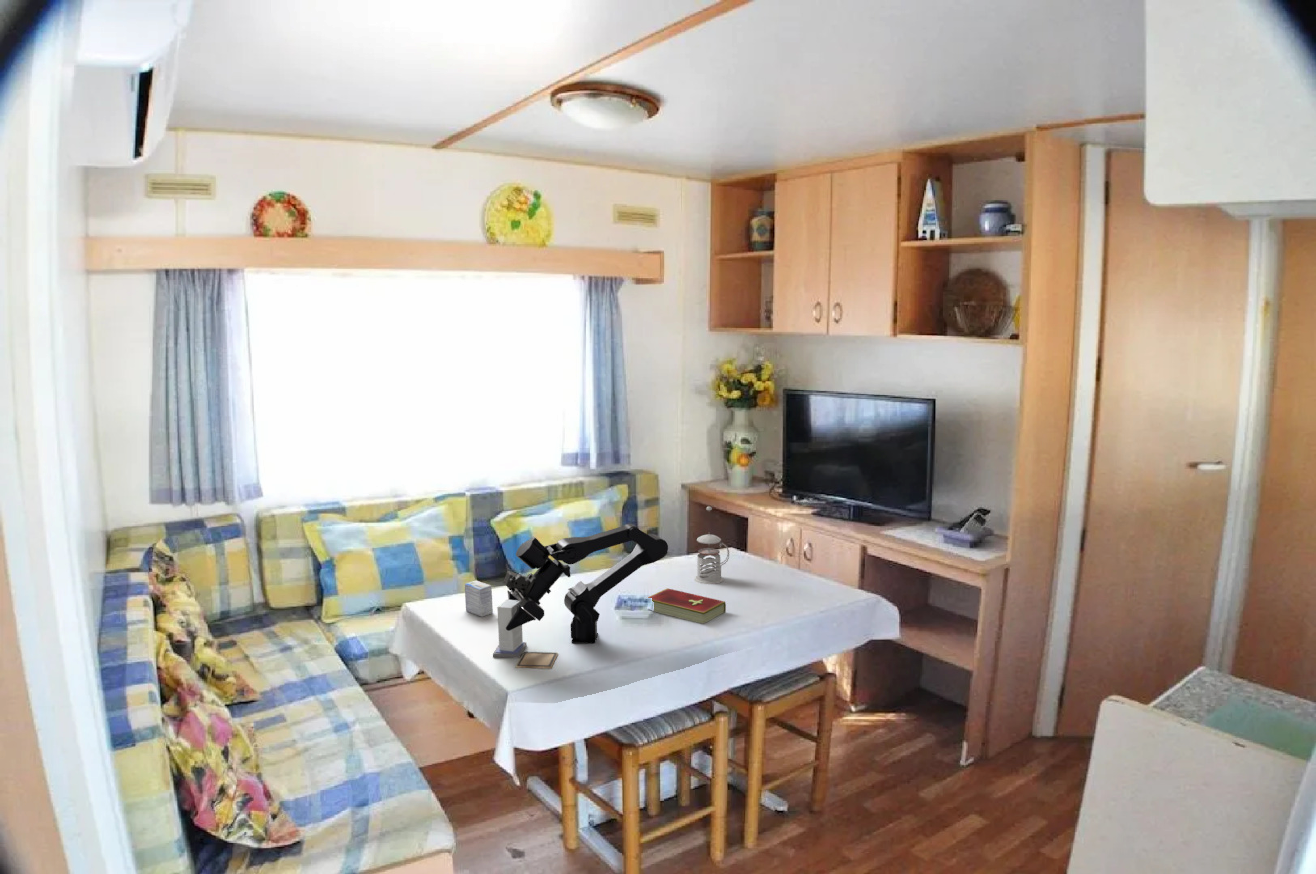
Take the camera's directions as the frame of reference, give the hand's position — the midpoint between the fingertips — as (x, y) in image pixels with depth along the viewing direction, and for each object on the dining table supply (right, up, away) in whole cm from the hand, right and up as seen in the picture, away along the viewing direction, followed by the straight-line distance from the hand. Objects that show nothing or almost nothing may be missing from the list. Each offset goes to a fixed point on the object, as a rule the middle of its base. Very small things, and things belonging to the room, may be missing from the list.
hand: (503, 625), depth 221 cm
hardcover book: (+49, -3, +31) cm, 58 cm away
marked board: (+9, -8, -4) cm, 13 cm away
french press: (+58, +2, +61) cm, 84 cm away
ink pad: (+1, -7, +2) cm, 8 cm away
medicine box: (-13, -3, +31) cm, 34 cm away
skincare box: (+2, -6, +2) cm, 7 cm away
